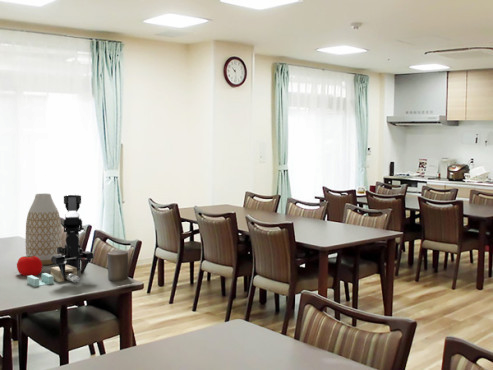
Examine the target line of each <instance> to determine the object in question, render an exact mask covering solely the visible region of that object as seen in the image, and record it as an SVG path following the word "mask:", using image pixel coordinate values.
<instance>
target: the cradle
mask: <svg viewBox="0 0 493 370" xmlns="http://www.w3.org/2000/svg"><path fill="white" fill-rule="evenodd" d="M26 277H27V278H26V279H27V284H28V285H30V286H32V287H35V288H36V287H40V286H47V285H51V284H54V283H55V282H54V281H55V280H54V277H53V276H52V275H51V273H50V274H49V273H47V272H44V273H42V272H41V280H40V278H39V277H37V276H36V275H35V276H33V275H30V276H26Z"/></svg>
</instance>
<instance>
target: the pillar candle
mask: <svg viewBox="0 0 493 370" xmlns="http://www.w3.org/2000/svg"><path fill="white" fill-rule="evenodd" d="M107 280H108V281H111V282H123V281H127V280H129V252H128V251H127V250H112V251H111V250H110V251H107Z"/></svg>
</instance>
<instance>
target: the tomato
mask: <svg viewBox="0 0 493 370" xmlns="http://www.w3.org/2000/svg"><path fill="white" fill-rule="evenodd" d="M16 269H17V271H18V273H19V274H20V275H21V276H25V277H27V276H30V275H33V276H35V277H36V276H38V275H40V274H42V271H43V265H42V261H41V260H40V259H39V258H38V257H36V256H34V255H33V256H26V255H25V256H23V255H22V256H21V257H20V258H19V259H18V260H17V263H16Z"/></svg>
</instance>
